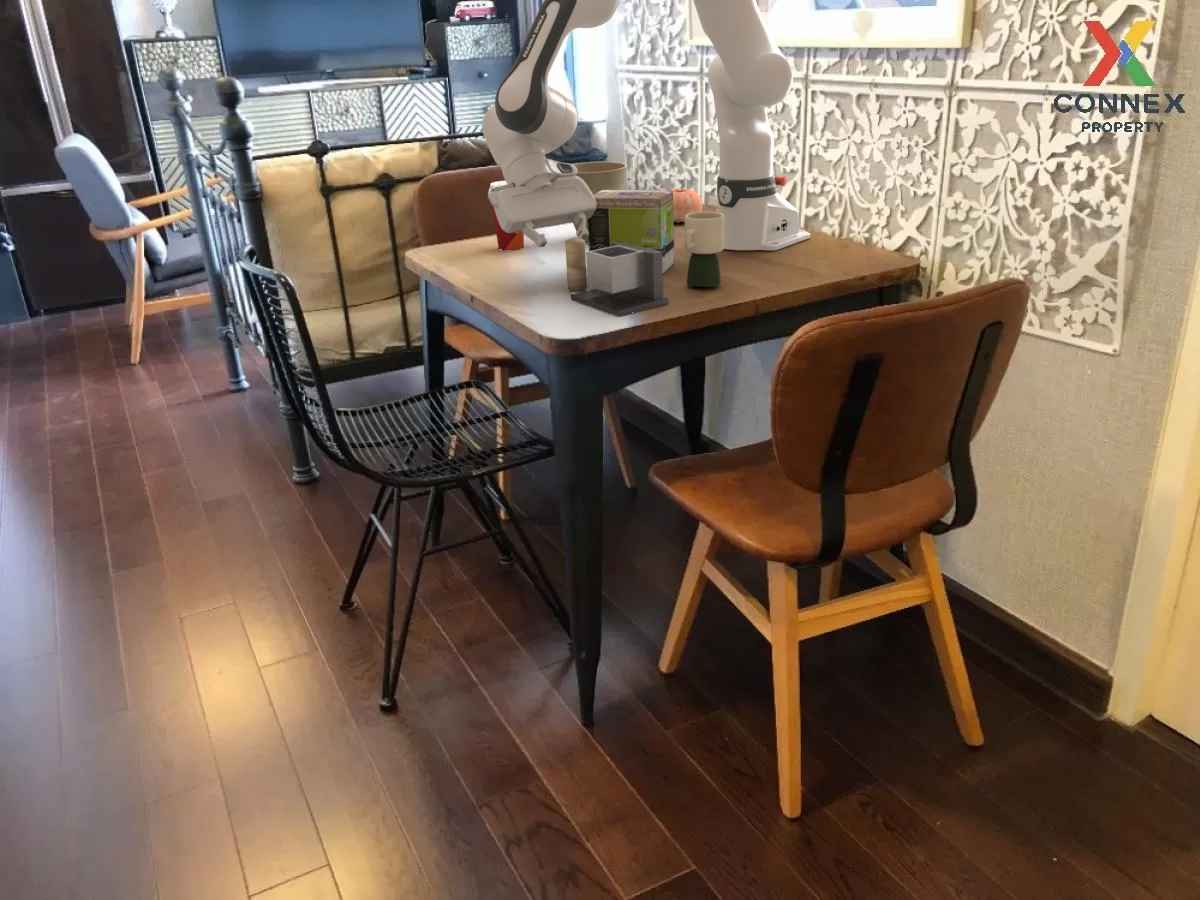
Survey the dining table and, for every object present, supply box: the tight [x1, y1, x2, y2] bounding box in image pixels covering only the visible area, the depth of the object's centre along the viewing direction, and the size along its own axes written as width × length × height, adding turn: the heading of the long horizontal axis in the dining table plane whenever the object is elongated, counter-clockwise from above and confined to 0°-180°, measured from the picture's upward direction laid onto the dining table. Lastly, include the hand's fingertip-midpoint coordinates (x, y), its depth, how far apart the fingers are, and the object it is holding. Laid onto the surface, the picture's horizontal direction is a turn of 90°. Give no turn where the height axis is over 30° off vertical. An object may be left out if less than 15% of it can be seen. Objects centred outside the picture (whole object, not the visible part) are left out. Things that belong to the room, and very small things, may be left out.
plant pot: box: [572, 161, 627, 244], centre depth 207 cm, size 15×15×16 cm
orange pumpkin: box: [669, 187, 703, 224], centre depth 223 cm, size 11×11×8 cm
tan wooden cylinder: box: [564, 238, 588, 293], centre depth 172 cm, size 4×4×9 cm
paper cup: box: [488, 180, 525, 251], centre depth 203 cm, size 8×8×14 cm
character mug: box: [683, 211, 724, 288], centre depth 169 cm, size 11×7×13 cm, turn 140°
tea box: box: [587, 189, 675, 274], centre depth 183 cm, size 15×10×15 cm, turn 71°
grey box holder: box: [570, 241, 669, 317], centre depth 163 cm, size 11×14×9 cm
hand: (563, 241), depth 173 cm, fingers open, 8 cm apart
